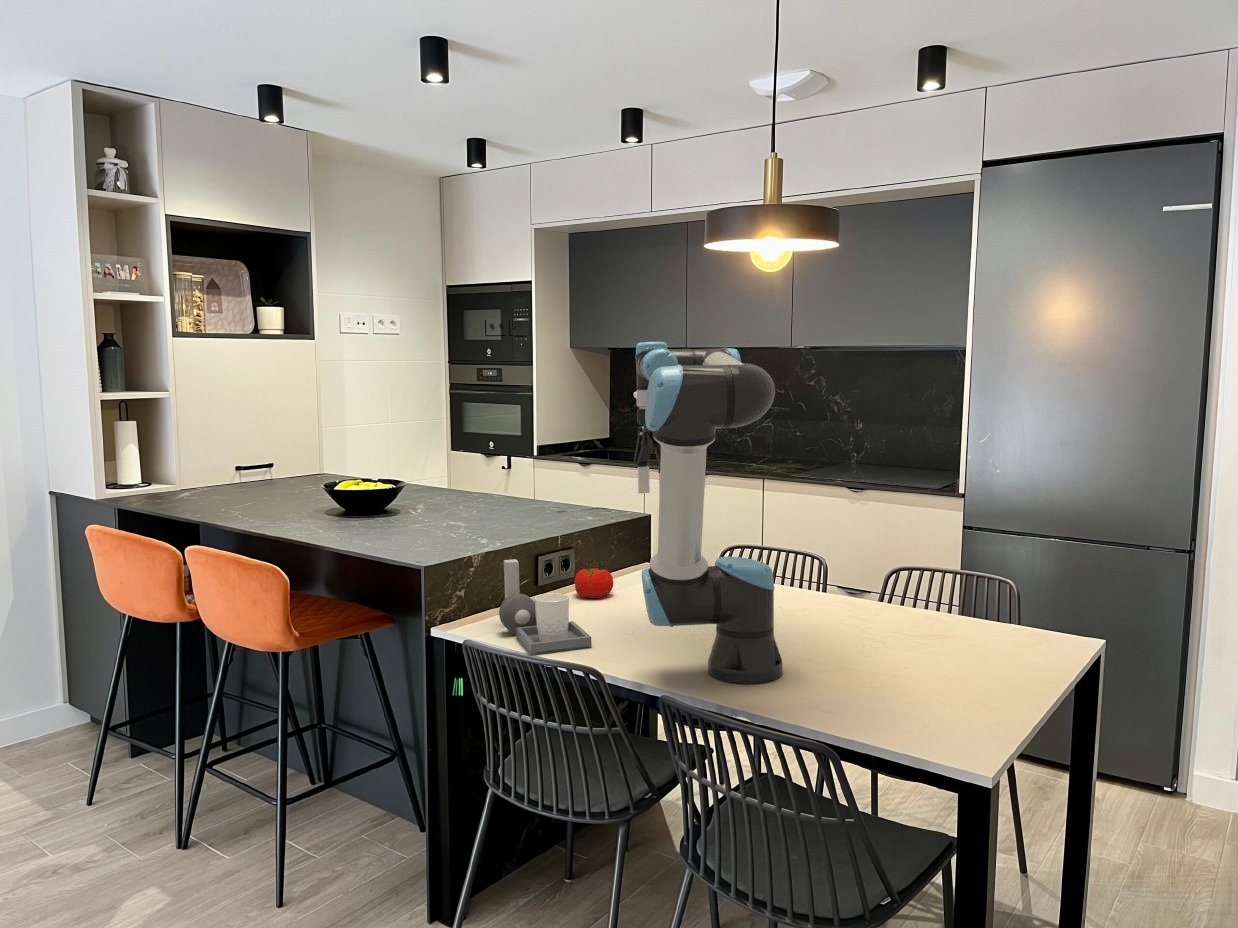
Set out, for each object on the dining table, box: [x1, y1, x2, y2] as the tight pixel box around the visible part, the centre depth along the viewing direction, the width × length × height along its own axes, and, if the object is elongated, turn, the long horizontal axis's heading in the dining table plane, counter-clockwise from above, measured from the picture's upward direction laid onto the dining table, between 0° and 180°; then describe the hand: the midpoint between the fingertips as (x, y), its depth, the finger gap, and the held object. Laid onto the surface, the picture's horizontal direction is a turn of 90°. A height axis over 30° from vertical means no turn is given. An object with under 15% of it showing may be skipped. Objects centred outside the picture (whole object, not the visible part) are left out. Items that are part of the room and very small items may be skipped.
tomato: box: [574, 567, 614, 599], centre depth 250 cm, size 11×11×8 cm
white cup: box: [534, 592, 570, 642], centre depth 208 cm, size 8×8×10 cm
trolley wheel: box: [498, 558, 537, 636], centre depth 219 cm, size 12×9×16 cm
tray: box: [515, 620, 593, 656], centre depth 208 cm, size 14×14×2 cm
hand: (654, 496), depth 217 cm, fingers open, 13 cm apart
